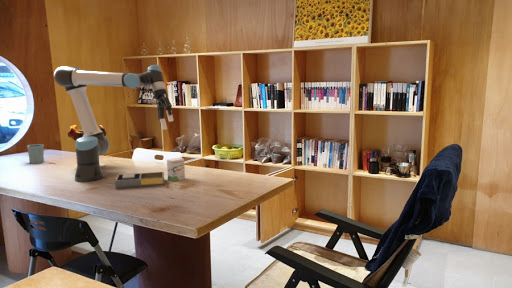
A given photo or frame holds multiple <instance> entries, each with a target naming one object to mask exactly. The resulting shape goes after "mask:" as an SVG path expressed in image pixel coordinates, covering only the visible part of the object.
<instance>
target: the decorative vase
mask: <svg viewBox="0 0 512 288" xmlns="http://www.w3.org/2000/svg"><path fill="white" fill-rule="evenodd" d="M98 128H99V130H101V131H102V132H103V134H104V136H105V137H107V131H106V129H105V128H104V126H103V125H101V124H99V126H98ZM69 129H70V130H68V132H67V137H68V138H71V139H72V140H74V141H75V142H76V140H77V139H79V138H81V137H83V135H84V132H83V129H78V127H77V125H76V124H73V125H71V126H70V128H69ZM99 164H100V167H101V168H103V167H105V164H104V163H99ZM76 169H77V168H76V167H75V170H76Z"/></svg>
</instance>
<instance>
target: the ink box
mask: <svg viewBox="0 0 512 288" xmlns="http://www.w3.org/2000/svg"><path fill="white" fill-rule="evenodd" d="M166 163H167V164H166V167H167V181H170V182H177V181H180V180H185V179H186V173H185V172H186V171H185V158H182V157H175V158H174V157H173V158H169V159H167V160H166Z"/></svg>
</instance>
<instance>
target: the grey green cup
mask: <svg viewBox="0 0 512 288" xmlns="http://www.w3.org/2000/svg"><path fill="white" fill-rule="evenodd" d="M44 147H45V145H44V144H39V143H38V144H37V143H35V144H28V145H27V146H26V148H27V153H28V161H29V164H32V165H34V164H35V165H36V164H42V163H44V162H45V156H44V155H45V153H44V152H45V151H44V150H45V148H44Z"/></svg>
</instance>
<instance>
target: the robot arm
mask: <svg viewBox="0 0 512 288" xmlns="http://www.w3.org/2000/svg"><path fill="white" fill-rule="evenodd" d="M53 79H54V82H55V83H56V84H57V85H58V86H59V87H62V88H64V89H65V92H66V93H67V94H68V95H70V97H71V101H72V103H73V104H72V105H73V106H74V109H75V111H76V112H75V113H76V115H77V117H78V120H79V123H80V126H81V128H82V129H81V130H83V132H84V135H83V137H81V138H79V139H77V140H76V141H75V154H76V155H75V156H76V157H75V158H76V165H77V166H76V167H77V169H76V168H75V173H74V180H75V181H76V182H93V181H98V180H102V179H103V178H104V171H103V170H102V167H100V164H101V163H100V156H103V155H105V154H106V153H107V152H108V151H109V148H110V141H109V139H108V138H107V136H104V134H103V132H102V131H101V130H99V128H98V127H99V126H98V123H97V121H96V118H95V115H94V112H93V108H92V106H91V103H90V101H89V100H90V99H89V98H88V95H87V92H86V90H87V88H88V86H101V87H102V86H103V87H104V86H105V87H121V88H122V87H123V88H124V87H125V88H131V89H133V90H135V89H140V88H142V87H145V86H149V85H151V89H152V92H153V93H152V94H153V97H154V99H155V100H157V102H156V106H157V118H158V120H159V121H160V125H161V129H162V131H163V130H164V131H165V130H168V126H167V122H166V118H165V113H166V117H167V120H168V123H169V122H170V123H171V122H174V115H173V112H172V108H173V105H172V103H171V101H170V99H169V96H168V91H167V89H166V87H167V86H166V84H165V78H164V75H163V71H162V68H161V66H160V65H159V64H152V65H149V66H148V67H147V70H146V71H144V72H142V73H133V72H128V73H127V72H110V71H93V70H83V69H81V68H79V67H77V66H63V65H62V66H60V67H59V66H58V67H57V68H56V69H55V71H54V73H53Z"/></svg>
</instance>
